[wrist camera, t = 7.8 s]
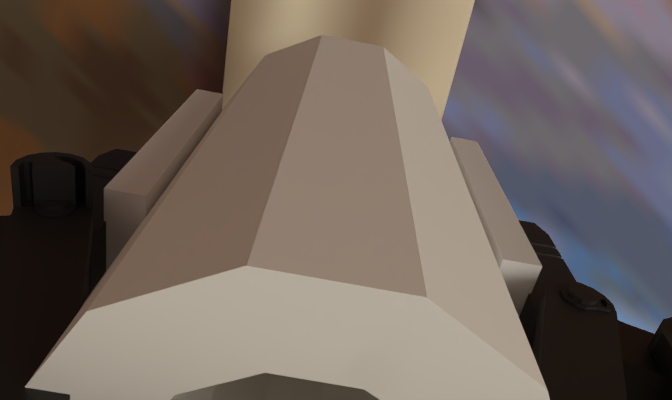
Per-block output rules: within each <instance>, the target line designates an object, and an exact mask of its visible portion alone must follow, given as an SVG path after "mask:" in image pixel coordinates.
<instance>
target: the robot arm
mask: <svg viewBox="0 0 672 400" xmlns="http://www.w3.org/2000/svg"><path fill="white" fill-rule="evenodd" d="M223 95H224V94H221V93H215V92H210V91H205V90H199V89H197V90H196V91H195V92H194V93H193V94H192V95H191V96H190V97H189V98H188V99H187V100H186V101H185V102H184V103H183V104H182V106H181V107H180V108H179V109H178V110H177V111H176V112H175V113H174V114H173V115H172V116H171V117H170V118H169V119H168V120H167V122H166V123H165V124H164V125H163V126H162V127H161V128H160V129H159V130H158V131H157V132H156V133H155V134H154V135H153V136H152V137H151V139H150V140H149V141H148V142H147V143H146V144H145V145H144V146H143V147H142V148H141V149H140V150H139V151H138V152H131V151H126V150H120V149H115V150H112V151H109V152H107V153H104V154H101V155H99V156H98V157H97V158H96V159H95V160H93V161H92V162H91V163H90V162H89V161H87V160H86V159H84V158H82V157H79V156H76V155H73V154H67V153H58V152H50V153H37V154H32V155H27V156H25V157H22V158H20V159H17V160H16V161H15V162H14V163H13V164H12V165H11V166H10V168H11V181H12V193H13V205H14V208H13V211H12V214H11V215H10V216H0V400H70V395H69V394H63V393H57V392H51V391H45V390H39V389H32V388H26V387H25V386H26V384H27V383H28V382H29V380H30V379H31V378H32V376H33V375H34V373H35V372H36V371H37V369H38V368H39V366H40V365H41V364H42V362H43V361H44V359H45V358H46V357H47V355H48V354H49V352H50V351H51V350H52V348H53V347H54V345H55V344H56V343H57V341H58V340H59V338H60V337H61V336H62V334H63V333H64V331H65V330H66V329H67V327H68V326H69V325H70V323H71V322H72V320H73V319H74V318H75V316H76V315H77V313H78V312H79V311H80V309H81V307H82V305H83V303H84V302H85V300H86V299H87V297H88V296H89V295H90V293H91V292H92V290H93V289H94V288H95V286H96V285H97V284H98V282H99V281H100V279H101V278H102V277H103V275H104V274H105V272H106V271H107V270H108V268H109V267H110V265H111V264H112V263H113V261H114V260H115V259H116V257H117V256H118V254H119V253H120V252H121V250H122V249H123V247H124V246H125V245H126V243H127V242H128V241H129V239H130V238H131V236H132V235H133V234H134V232H135V231H136V229H137V228H138V227H139V225H140V224H141V222H142V221H143V220H144V218H145V217H146V216H147V214H148V213H149V212H150V210H151V209H152V207H153V206H154V205H155V203H156V202H157V200H158V199H159V198H160V196H161V195H162V193H163V192H164V191H165V189H166V188H167V187H168V185H169V184H170V182H171V181H172V180H173V178H174V177H175V175H176V174H177V173H178V171H179V170H180V168H181V167H182V166H183V164H184V163H185V161H186V160H187V159H188V157H189V156H190V155H191V153H192V152H193V150H194V149H195V148H196V146H197V145H198V143H199V142H200V141H201V139H202V138H203V136H204V135H205V134H206V132H207V131H208V130H209V128H210V127H211V125H212V124H213V123H214V121H215V120H216V118H217V117H218V116H219V114H220V113H221V111H222V105H223ZM450 145H451V147H452V150H453V152H454V155H455V157H456V160H457V162H458V165H459V167H460V170H461V172H462V175H463V177H464V180H465V183H466V185H467V188H468V190H469V193H470V195H471V198H472V200H473V203H474V205H475V208H476V210H477V213H478V215H479V218H480V220H481V223H482V225H483V228H484V231H485V233H486V236H487V238H488V241H489V243H490V246H491V248H492V251H493V253H494V256H495V258H496V261H497V263H498V266H499V268H500V271H501V274H502V276H503V279H504V281H505V284H506V286H507V289H508V291H509V294H510V296H511V299H512V301H513V304H514V306H515V309H516V311H517V314H518V317H519V319H520V322H521V324H522V327H523V329H524V332H525V334H526V337H527V339H528V342H529V344H530V347H531V349H532V352H533V354H534V357H535V359H536V362H537V365H538V367H539V370H540V372H541V375H542V377H543V380H544V382H545V385H546V387H547V390H548V394H549V397H550V400H672V317H671V318H667V319H663V321H662V322H661V324H660V326H659V328H658V329H657V331H656V333H655V334H653V333H650V332H648V331H645V330H642V329H639V328H637V327H634V326H631V325H628V324H626V323H623V322H621V321H618V320H617V313H616V310H615V308H614V306H613V304H612V303H611V302H610V301H609V300H608V299H607V298H606V297H605V296H604V295H602V294H601V293H599V292H598V291H596V290H595V289H593V288H591V287H588V286H586V285H584V284H582V283H578V282H576V280H575V279H574V277H573V275H572V273H571V272H570V270H569V268H568V267H567V265H566V263H565V262H564V260H563V259H561V255H560V253H559V252H558V250H557V249H555V248H556V247H555V245H554V243H553V242H552V240H551V238H550V237H549V235H548V234H547V233H546V232H544V231H543V230H542V229H541V228H540V227H538V226H537V225H536V224H535V223H531V222H526V221H520V220H518V219H517V217H516V215H515V213H514V211H513V209H512V207H511V205H510V204H509V202H508V200H507V198H506V196H505V194H504V192H503V190H502V188H501V186H500V184H499V183H498V181H497V179H496V177H495V175H494V173H493V171H492V169H491V167H490V165H489V163H488V162H487V160H486V158H485V156H484V154H483V152H482V150H481V148H480V146H479V144H478V142H476V141H471V140H466V139H460V138H455V137H451V141H450Z"/></svg>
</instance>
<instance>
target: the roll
mask: <svg viewBox="0 0 672 400" xmlns="http://www.w3.org/2000/svg"><path fill="white" fill-rule="evenodd" d="M25 387H26V388H32V389H39V390H45V391H51V392H57V393H63V394H69V395H70V400H550V397H549V394H548V390H547V387H546V385H545V382H544V380H543V377H542V375H541V372H540V370H539V367H538V365H537V362H536V359H535V357H534V354H533V352H532V349H531V347H530V344H529V342H528V339H527V337H526V334H525V332H524V329H523V327H522V324H521V322H520V319H519V317H518V314H517V311H516V309H515V306H514V304H513V301H512V299H511V296H510V294H509V291H508V289H507V286H506V284H505V281H504V279H503V276H502V274H501V271H500V268H499V266H498V263H497V261H496V258H495V256H494V253H493V251H492V248H491V246H490V243H489V241H488V238H487V236H486V233H485V231H484V228H483V225H482V223H481V220H480V218H479V215H478V213H477V210H476V208H475V205H474V203H473V200H472V198H471V195H470V193H469V190H468V188H467V185H466V183H465V180H464V177H463V175H462V172H461V170H460V167H459V165H458V162H457V160H456V157H455V155H454V152H453V150H452V147H451V145H450V142H449V140H448V137H447V134H446V132H445V129H444V127H443V124H442V122H441V119H440V117H439V114H438V112H437V109H436V107H435V104H434V102H433V99H432V97H431V94H430V91H429V89H428V87H427V86H426V85H425V84H424V83H423V82H422V81H421V80H420V79H419V78H417V77H416V76H415V75H414V74H413V73H412V72H411V71H410V70H409V69H408V68H406V67H405V66H404V65H403V64H402V63H401V62H400V61H399V60H398V59H396V58H395V57H394V56H393V55H392V54H391V53H390V52H389V51H388V50H386V49H385V48H384V47H383V46H378V45H373V44H367V43H362V42H357V41H352V40H347V39H342V38H337V37H332V36H327V35H320V36H317V37H314V38H312V39H309V40H306V41H303V42H300V43H298V44H295V45H292V46H289V47H287V48H284V49H281V50H278V51H275V52H273V53H270V54H267V55H265V56H264V57H263V59H262V60H261V61H260V62H259V64H258V65H257V66H256V67H255V69H254V70H253V71H252V73H251V74H250V75H249V76H248V78H247V79H246V80H245V81H244V83H243V84H242V85H241V86H240V88H239V89H238V90H237V91H236V93H235V94H234V95H233V97H232V98H231V99H230V100H229V102H228V103H227V105H226V106H225V107H224V109H223V110H222V111H221V113H220V114H219V116H218V117H217V118H216V120H215V121H214V123H213V124H212V125H211V127H210V128H209V130H208V131H207V132H206V134H205V135H204V136H203V138H202V139H201V141H200V142H199V143H198V145H197V146H196V148H195V149H194V150H193V152H192V153H191V155H190V156H189V157H188V159H187V160H186V161H185V163H184V164H183V166H182V167H181V168H180V170H179V171H178V173H177V174H176V175H175V177H174V178H173V180H172V181H171V182H170V184H169V185H168V187H167V188H166V189H165V191H164V192H163V193H162V195H161V196H160V198H159V199H158V200H157V202H156V203H155V205H154V206H153V207H152V209H151V210H150V212H149V213H148V214H147V216H146V217H145V218H144V220H143V221H142V222H141V224H140V225H139V227H138V228H137V229H136V231H135V232H134V234H133V235H132V236H131V238H130V239H129V241H128V242H127V243H126V245H125V246H124V247H123V249H122V250H121V252H120V253H119V254H118V256H117V257H116V259H115V260H114V261H113V263H112V264H111V265H110V267H109V268H108V270H107V271H106V272H105V274H104V275H103V277H102V278H101V279H100V281H99V282H98V284H97V285H96V286H95V288H94V289H93V290H92V292H91V293H90V295H89V296H88V297H87V299H86V300H85V302H84V303H83V305H82V307H81V309H80V311H79V312H78V313H77V315H76V316H75V318H74V319H73V320H72V322H71V323H70V325H69V326H68V327H67V329H66V330H65V331H64V333H63V334H62V336H61V337H60V338H59V340H58V341H57V343H56V344H55V345H54V347H53V348H52V350H51V351H50V352H49V354H48V355H47V357H46V358H45V359H44V361H43V362H42V364H41V365H40V366H39V368H38V369H37V371H36V372H35V373H34V375H33V376H32V378H31V379H30V380H29V382H28V383H27V384H26V386H25Z"/></svg>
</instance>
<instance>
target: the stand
mask: <svg viewBox="0 0 672 400" xmlns="http://www.w3.org/2000/svg"><path fill="white" fill-rule="evenodd" d="M474 2H475V0H231V9H230V19H229V30H228V40H227V51H226V61H225V72H224V82H223V93H222V94H224V95H223V105H222V110H223V109H224V107H225V106H226V105H227V103H228V102H229V100H230V99H231V98H232V97H233V95H234V94H235V93H236V91H237V90H238V89H239V88H240V86H241V85H242V84H243V83H244V81H245V80H246V79H247V78H248V76H249V75H250V74H251V73H252V71H253V70H254V69H255V67H256V66H257V65H258V64H259V62H260V61H261V60H262V59H263V57H264V56H265V55H267V54H270V53H273V52H275V51H278V50H281V49H284V48H287V47H289V46H292V45H295V44H298V43H300V42H303V41H306V40H309V39H312V38H314V37H317V36H320V35H327V36H332V37H337V38H342V39H347V40H352V41H357V42H362V43H367V44H373V45H378V46H383V47H384V48H385V49H386V50H388V51H389V52H390V53H391V54H392V55H393V56H394V57H395V58H396V59H398V60H399V61H400V62H401V63H402V64H403V65H404V66H405V67H406V68H408V69H409V70H410V71H411V72H412V73H413V74H414V75H415V76H416V77H417V78H419V79H420V80H421V81H422V82H423V83H424V84H425V85H426V86H427V87H428V89H429V91H430V94H431V97H432V99H433V102H434V104H435V107H436V109H437V112H438V114H439V117H440V119H441V120H442V116H443V112H444V109H445V105H446V102H447V98H448V95H449V91H450V87H451V84H452V80H453V77H454V73H455V70H456V66H457V62H458V59H459V55H460V52H461V48H462V45H463V41H464V37H465V34H466V30H467V27H468V23H469V20H470V16H471V12H472V9H473V5H474Z"/></svg>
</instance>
